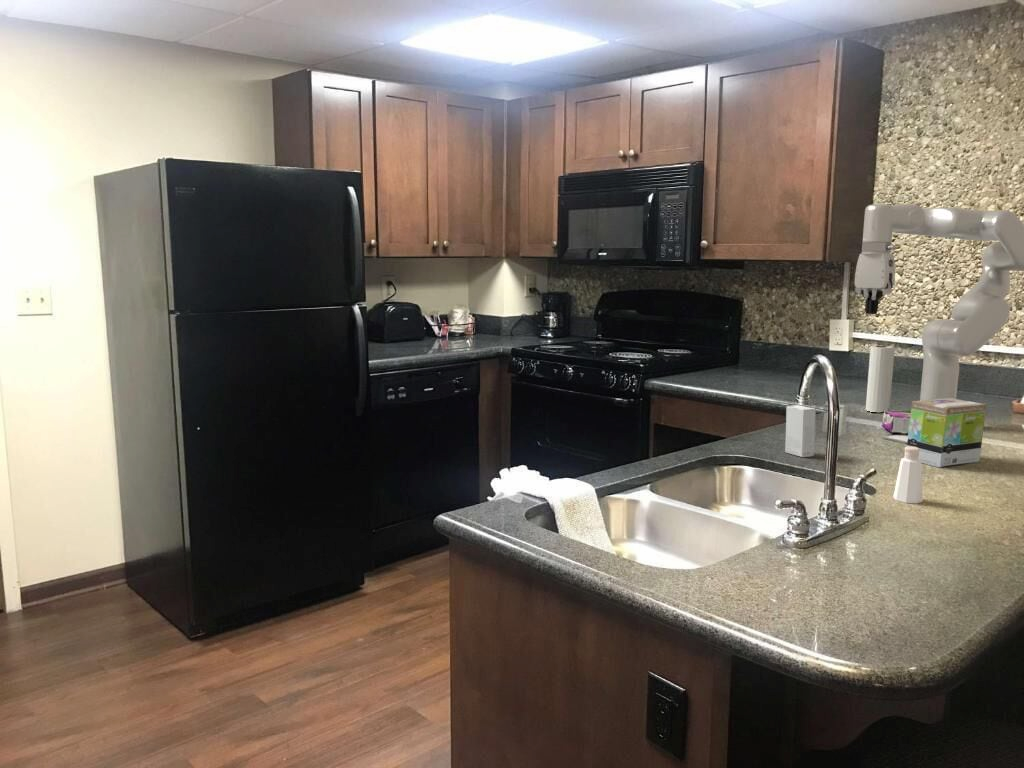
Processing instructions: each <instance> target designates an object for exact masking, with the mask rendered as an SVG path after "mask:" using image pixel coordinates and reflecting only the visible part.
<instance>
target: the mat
mask: <svg viewBox="0 0 1024 768" xmlns="http://www.w3.org/2000/svg"><path fill="white" fill-rule="evenodd" d="M882 438H883V440H886V439H887V440H888V441H891V440H892V441H891V442H895V441H898V442H897V443H899V442H903V443H902V444H904V443H907V441H908V434H903V433H899V434H894V435H889V436H882V437H881V439H882Z"/></svg>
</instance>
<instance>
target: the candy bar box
mask: <svg viewBox="0 0 1024 768" xmlns="http://www.w3.org/2000/svg"><path fill="white" fill-rule="evenodd" d="M910 414H911V412H910V413H909V412H899V411H898V412H897V411H884V413H882V424H881V428H884V429H885V430H887V431H889V432H890V433H892V434H908V431H909V423H910Z"/></svg>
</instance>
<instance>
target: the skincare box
mask: <svg viewBox="0 0 1024 768" xmlns="http://www.w3.org/2000/svg"><path fill="white" fill-rule="evenodd" d="M785 409H786V410H785V411H786V412H785V414H786V415H785V416H786V417H785V421H786V422H785V446H784V449H785V450H784V451H785V454H786V453H787V454H790V455H794V456H797V457H801V458H810V457H814V456H815V441H816V440H815V439H816V438H815V437H816V414H817V413H816V412H817V411H816V408H813V407H808V406H804V405H798V404H796V405H789V406H786V408H785Z"/></svg>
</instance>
